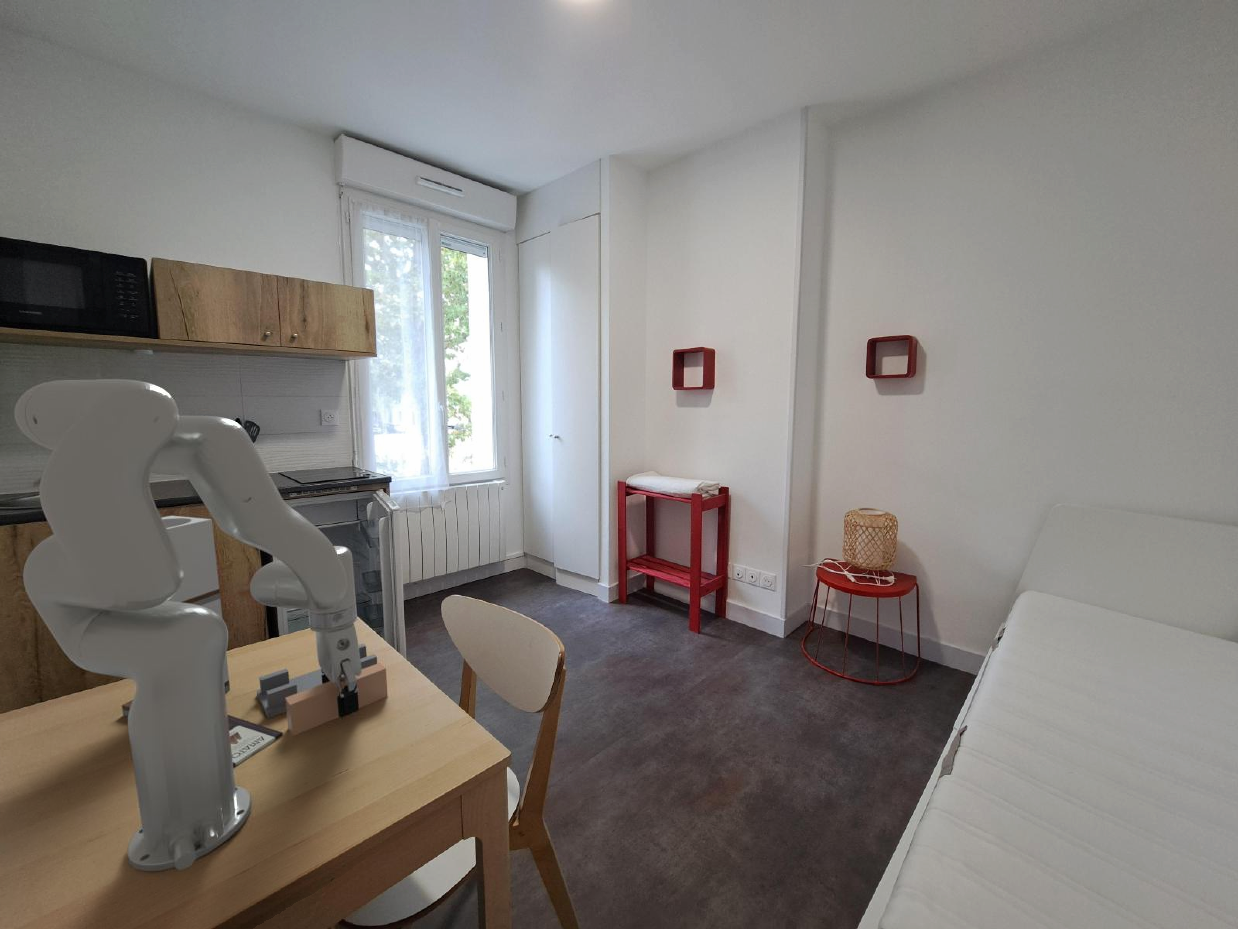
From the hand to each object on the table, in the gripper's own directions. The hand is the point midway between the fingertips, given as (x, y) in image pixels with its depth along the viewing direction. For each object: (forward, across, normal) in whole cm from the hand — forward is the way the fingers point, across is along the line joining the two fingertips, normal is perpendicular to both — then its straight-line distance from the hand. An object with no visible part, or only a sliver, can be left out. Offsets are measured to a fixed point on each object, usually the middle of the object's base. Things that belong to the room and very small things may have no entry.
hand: (340, 702), depth 92 cm
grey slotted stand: (+2, +12, 0) cm, 12 cm away
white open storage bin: (+2, +25, +21) cm, 33 cm away
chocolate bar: (+2, +6, +17) cm, 18 cm away
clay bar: (+2, 0, 0) cm, 2 cm away
